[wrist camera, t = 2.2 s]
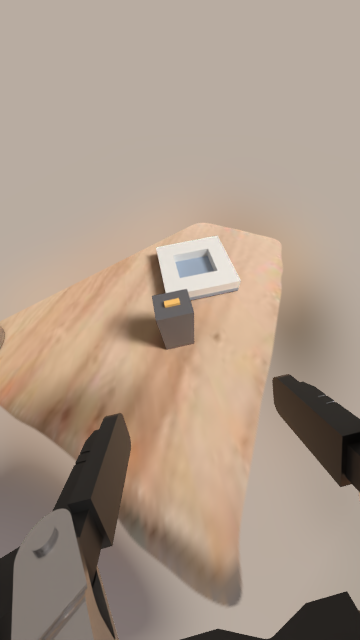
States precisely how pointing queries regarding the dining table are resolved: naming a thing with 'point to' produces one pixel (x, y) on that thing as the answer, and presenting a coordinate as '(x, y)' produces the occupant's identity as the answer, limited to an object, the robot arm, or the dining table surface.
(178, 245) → the dock
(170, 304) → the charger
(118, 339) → the dining table surface
